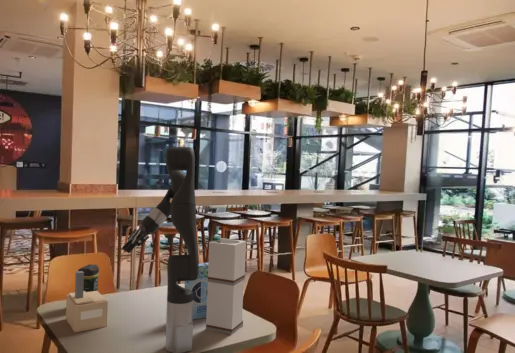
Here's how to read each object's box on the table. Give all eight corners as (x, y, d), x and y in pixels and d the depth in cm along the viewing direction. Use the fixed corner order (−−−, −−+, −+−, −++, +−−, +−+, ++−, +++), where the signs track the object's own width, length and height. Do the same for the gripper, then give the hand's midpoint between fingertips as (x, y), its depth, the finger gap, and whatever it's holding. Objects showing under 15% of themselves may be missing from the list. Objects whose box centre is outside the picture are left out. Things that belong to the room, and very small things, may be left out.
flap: (93, 301, 163) (94, 275, 162) (76, 304, 159) (77, 276, 159) (84, 292, 174) (85, 267, 174) (68, 294, 170) (69, 268, 170)
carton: (107, 326, 165) (107, 300, 165) (74, 332, 158) (75, 305, 158) (96, 313, 178) (96, 290, 178) (65, 318, 171) (66, 294, 171)
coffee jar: (91, 310, 182) (92, 268, 181) (73, 310, 182) (74, 267, 181) (100, 303, 191) (101, 263, 191) (83, 302, 191) (84, 262, 191)
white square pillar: (242, 325, 172) (246, 241, 171) (231, 334, 162) (235, 245, 161) (218, 320, 176) (221, 238, 175) (205, 329, 166) (209, 242, 165)
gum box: (222, 310, 189) (224, 259, 189) (228, 313, 185) (230, 262, 185) (182, 317, 179) (184, 264, 178) (187, 321, 174) (189, 266, 174)
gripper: (142, 213, 187) (114, 242, 180) (154, 216, 176) (124, 247, 169) (153, 224, 190) (125, 253, 184) (165, 228, 179) (136, 259, 172)
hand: (125, 250), depth 176 cm, fingers open, 3 cm apart
